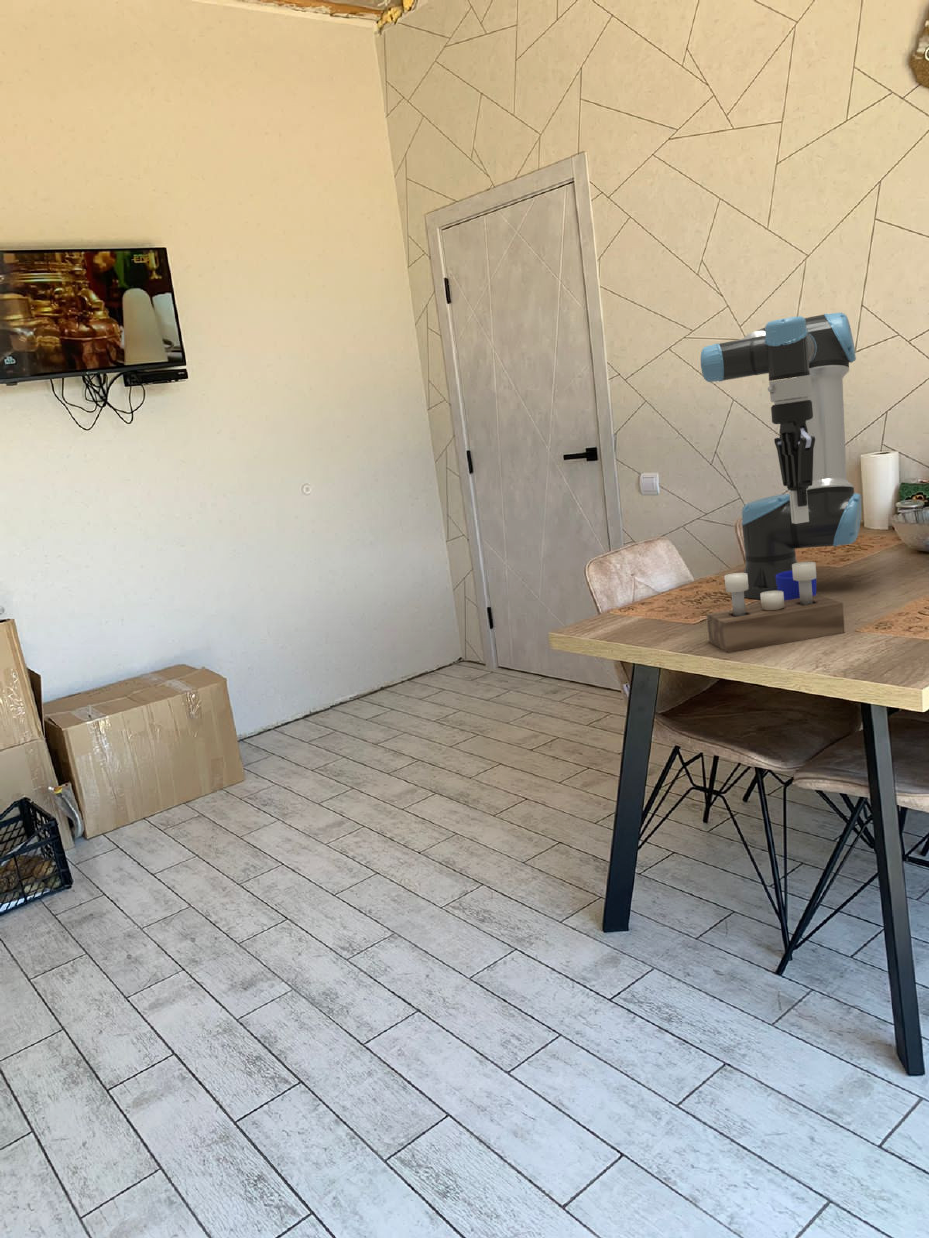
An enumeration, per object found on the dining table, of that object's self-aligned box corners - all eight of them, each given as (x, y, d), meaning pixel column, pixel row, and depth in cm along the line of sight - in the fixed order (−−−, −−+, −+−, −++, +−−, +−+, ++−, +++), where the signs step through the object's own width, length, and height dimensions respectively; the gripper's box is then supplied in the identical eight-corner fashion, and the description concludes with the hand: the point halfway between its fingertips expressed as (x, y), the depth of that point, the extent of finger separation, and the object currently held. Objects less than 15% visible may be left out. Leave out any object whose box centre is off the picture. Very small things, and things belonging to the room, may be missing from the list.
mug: (819, 609, 206) (815, 565, 204) (820, 622, 195) (816, 575, 193) (779, 612, 209) (776, 568, 207) (778, 625, 198) (774, 579, 196)
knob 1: (725, 616, 189) (721, 575, 187) (746, 613, 189) (742, 571, 188) (733, 620, 185) (729, 578, 183) (754, 617, 185) (750, 574, 183)
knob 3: (791, 605, 190) (788, 564, 188) (812, 602, 190) (809, 560, 189) (801, 609, 186) (797, 567, 184) (822, 605, 186) (819, 563, 184)
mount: (709, 641, 193) (706, 613, 192) (820, 622, 194) (818, 594, 193) (727, 652, 183) (724, 623, 182) (844, 632, 185) (842, 603, 183)
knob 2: (760, 634, 191) (756, 593, 189) (781, 630, 191) (777, 589, 189) (769, 638, 186) (765, 596, 185) (790, 634, 187) (787, 592, 185)
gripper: (758, 405, 186) (768, 522, 191) (787, 402, 173) (797, 528, 178) (794, 400, 187) (803, 516, 192) (826, 396, 174) (835, 522, 178)
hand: (800, 522), depth 185 cm, fingers closed
